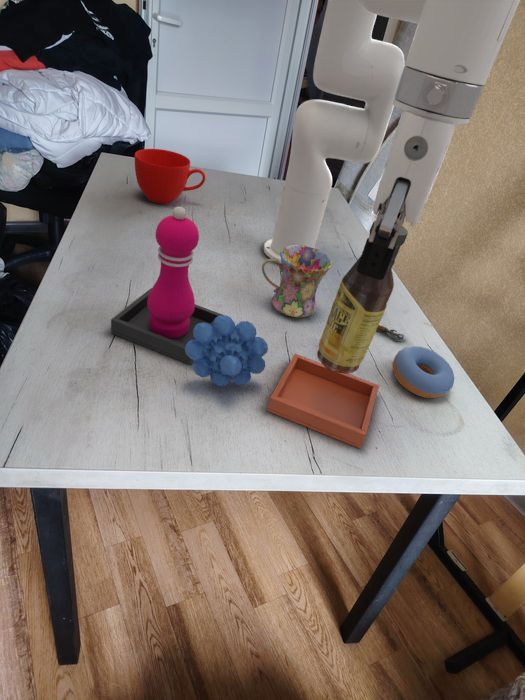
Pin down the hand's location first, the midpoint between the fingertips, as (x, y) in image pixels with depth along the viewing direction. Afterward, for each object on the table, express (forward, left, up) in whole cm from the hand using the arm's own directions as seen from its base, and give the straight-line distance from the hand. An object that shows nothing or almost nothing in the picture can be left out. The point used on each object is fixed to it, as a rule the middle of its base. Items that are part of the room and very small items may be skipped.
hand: (373, 265), depth 56 cm
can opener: (-25, +5, -23) cm, 34 cm away
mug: (-22, -13, -23) cm, 34 cm away
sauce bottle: (0, 0, -15) cm, 15 cm away
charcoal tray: (-3, -27, -23) cm, 35 cm away
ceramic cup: (-51, -54, -23) cm, 78 cm away
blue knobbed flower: (+5, -14, -23) cm, 27 cm away
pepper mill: (-3, -27, -22) cm, 35 cm away
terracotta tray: (0, 0, -23) cm, 23 cm away
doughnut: (-14, +13, -23) cm, 30 cm away
